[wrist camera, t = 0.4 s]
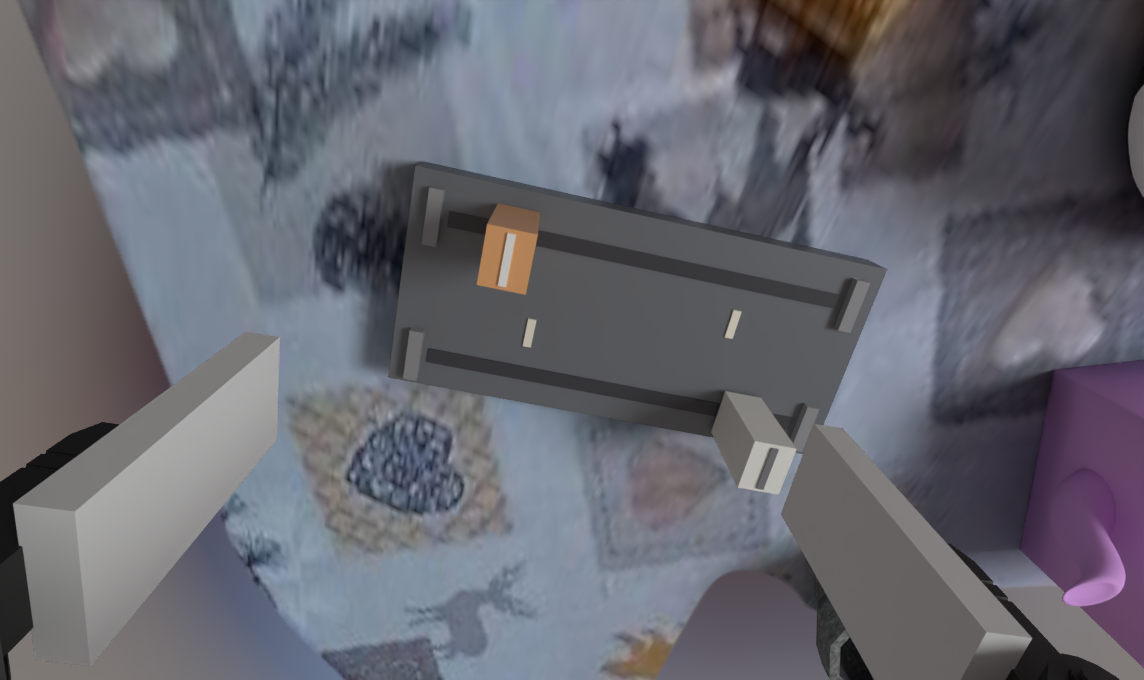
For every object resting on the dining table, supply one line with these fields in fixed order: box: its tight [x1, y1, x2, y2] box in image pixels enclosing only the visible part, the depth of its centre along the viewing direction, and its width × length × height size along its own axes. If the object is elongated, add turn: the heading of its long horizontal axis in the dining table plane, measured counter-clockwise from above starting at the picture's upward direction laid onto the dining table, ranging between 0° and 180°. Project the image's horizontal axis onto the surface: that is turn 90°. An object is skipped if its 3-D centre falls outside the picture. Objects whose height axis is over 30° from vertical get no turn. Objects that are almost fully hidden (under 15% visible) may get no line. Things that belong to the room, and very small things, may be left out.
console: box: [388, 162, 887, 454], centre depth 39 cm, size 13×28×3 cm, turn 78°
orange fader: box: [477, 203, 540, 295], centre depth 32 cm, size 3×2×6 cm
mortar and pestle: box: [815, 576, 874, 680], centre depth 43 cm, size 11×9×12 cm
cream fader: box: [711, 391, 797, 495], centre depth 37 cm, size 3×2×6 cm
